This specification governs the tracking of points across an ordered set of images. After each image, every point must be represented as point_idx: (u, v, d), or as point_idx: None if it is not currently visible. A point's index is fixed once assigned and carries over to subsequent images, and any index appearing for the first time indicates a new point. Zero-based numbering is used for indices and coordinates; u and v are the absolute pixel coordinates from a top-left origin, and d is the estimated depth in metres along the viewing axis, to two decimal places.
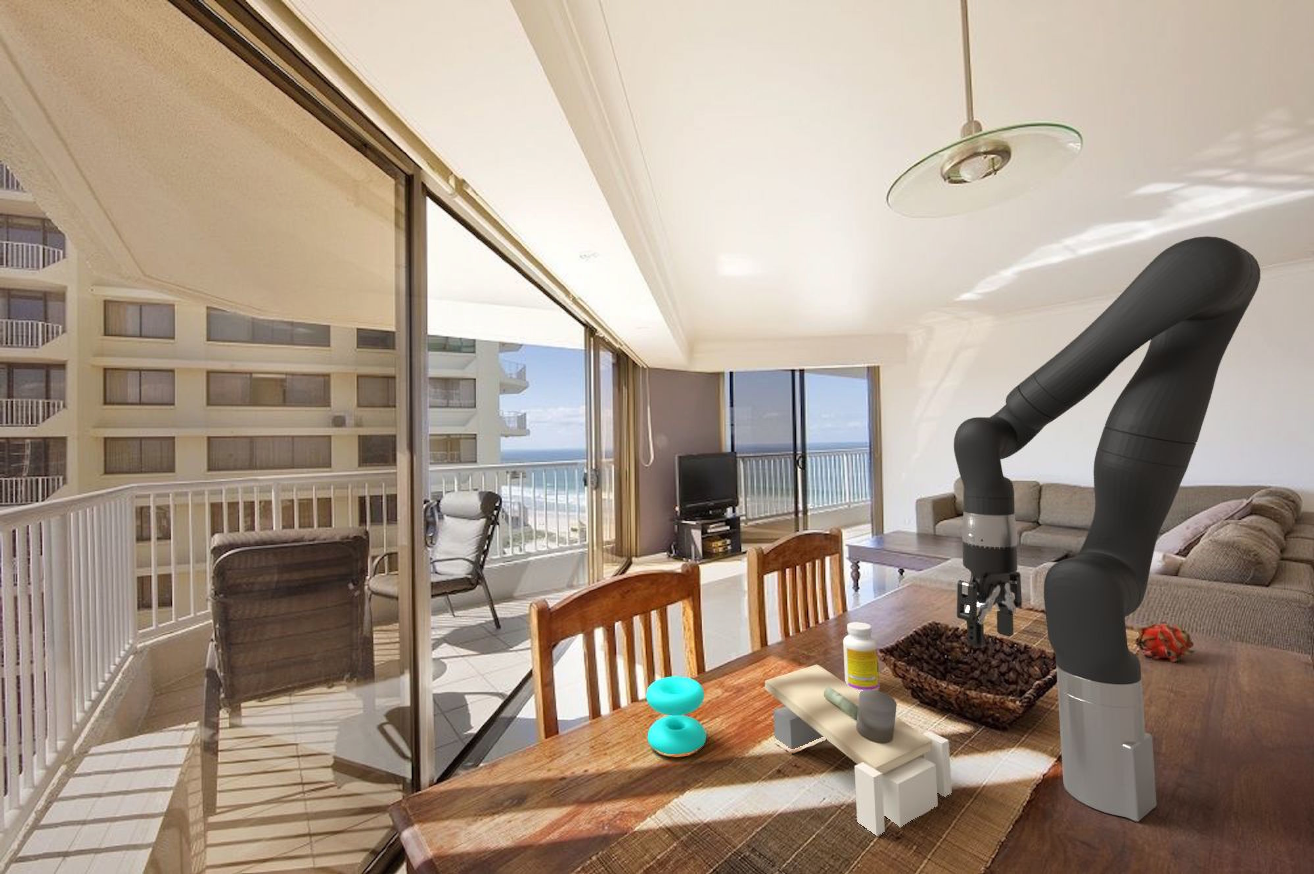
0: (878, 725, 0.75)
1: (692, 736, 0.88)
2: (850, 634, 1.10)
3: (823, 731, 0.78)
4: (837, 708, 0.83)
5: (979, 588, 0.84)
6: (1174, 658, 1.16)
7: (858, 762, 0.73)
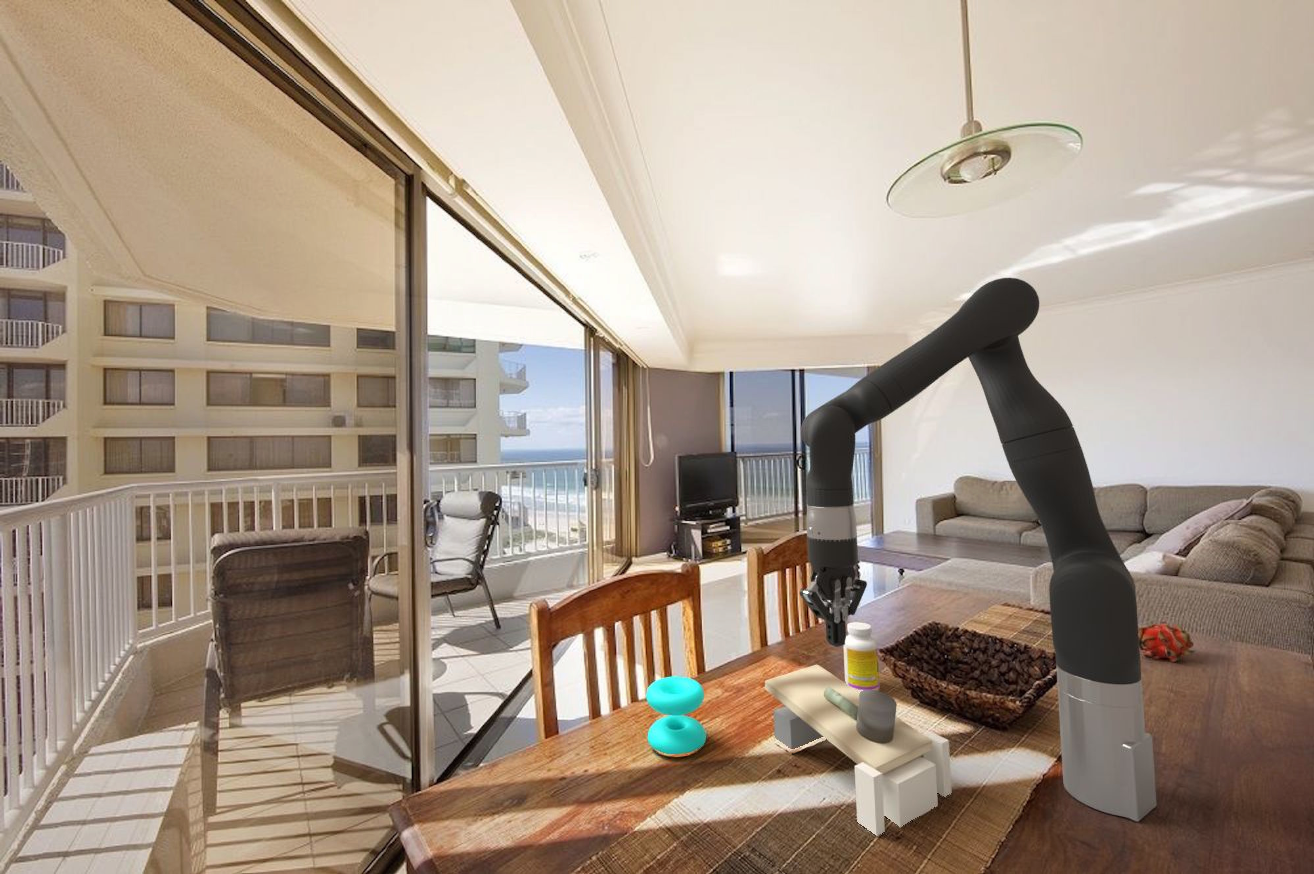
0: (878, 725, 0.75)
1: (692, 736, 0.88)
2: (850, 634, 1.10)
3: (823, 731, 0.78)
4: (837, 708, 0.83)
5: (820, 586, 0.81)
6: (1174, 658, 1.16)
7: (858, 762, 0.73)
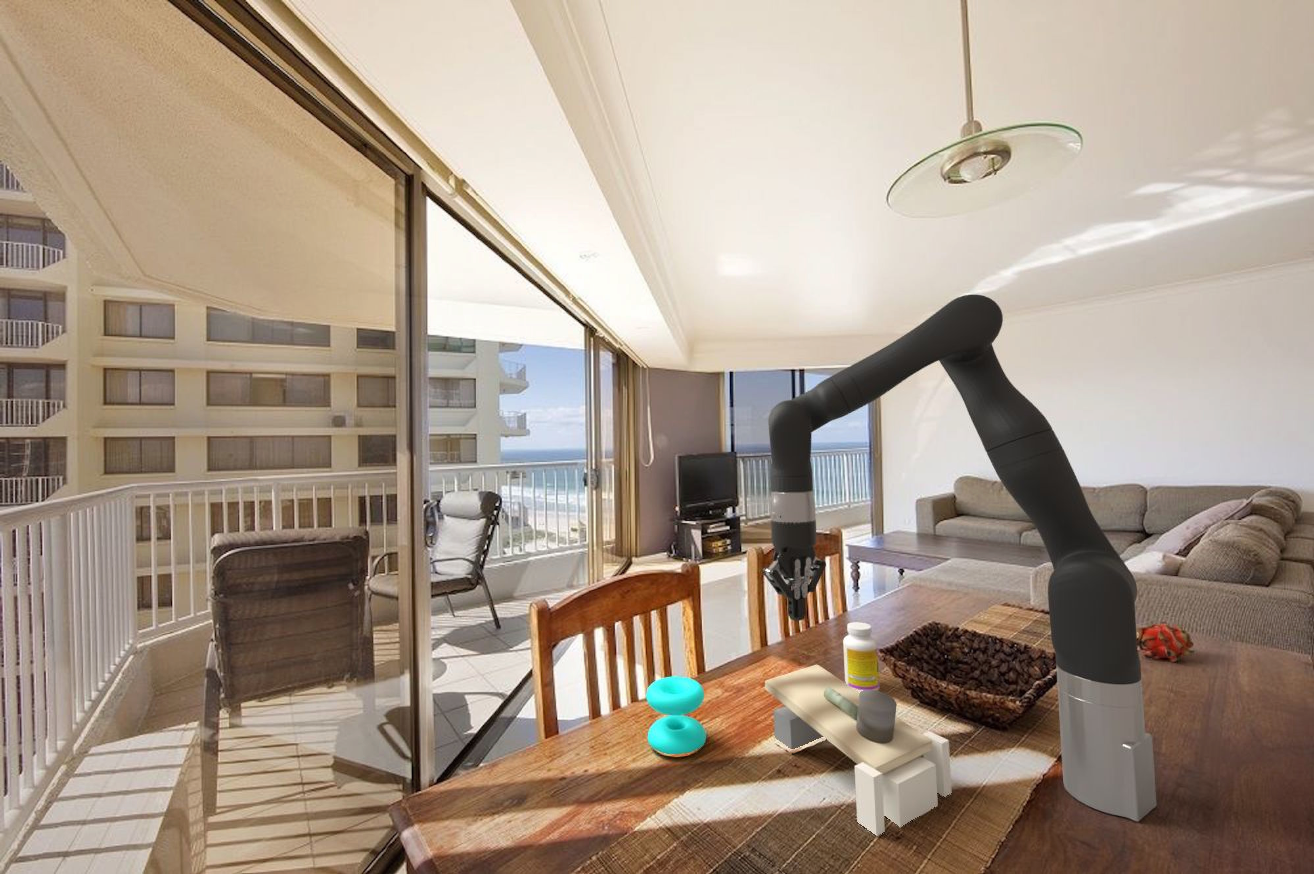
0: (878, 725, 0.75)
1: (692, 736, 0.88)
2: (850, 634, 1.10)
3: (823, 731, 0.78)
4: (837, 708, 0.83)
5: None
6: (1174, 658, 1.16)
7: (858, 762, 0.73)
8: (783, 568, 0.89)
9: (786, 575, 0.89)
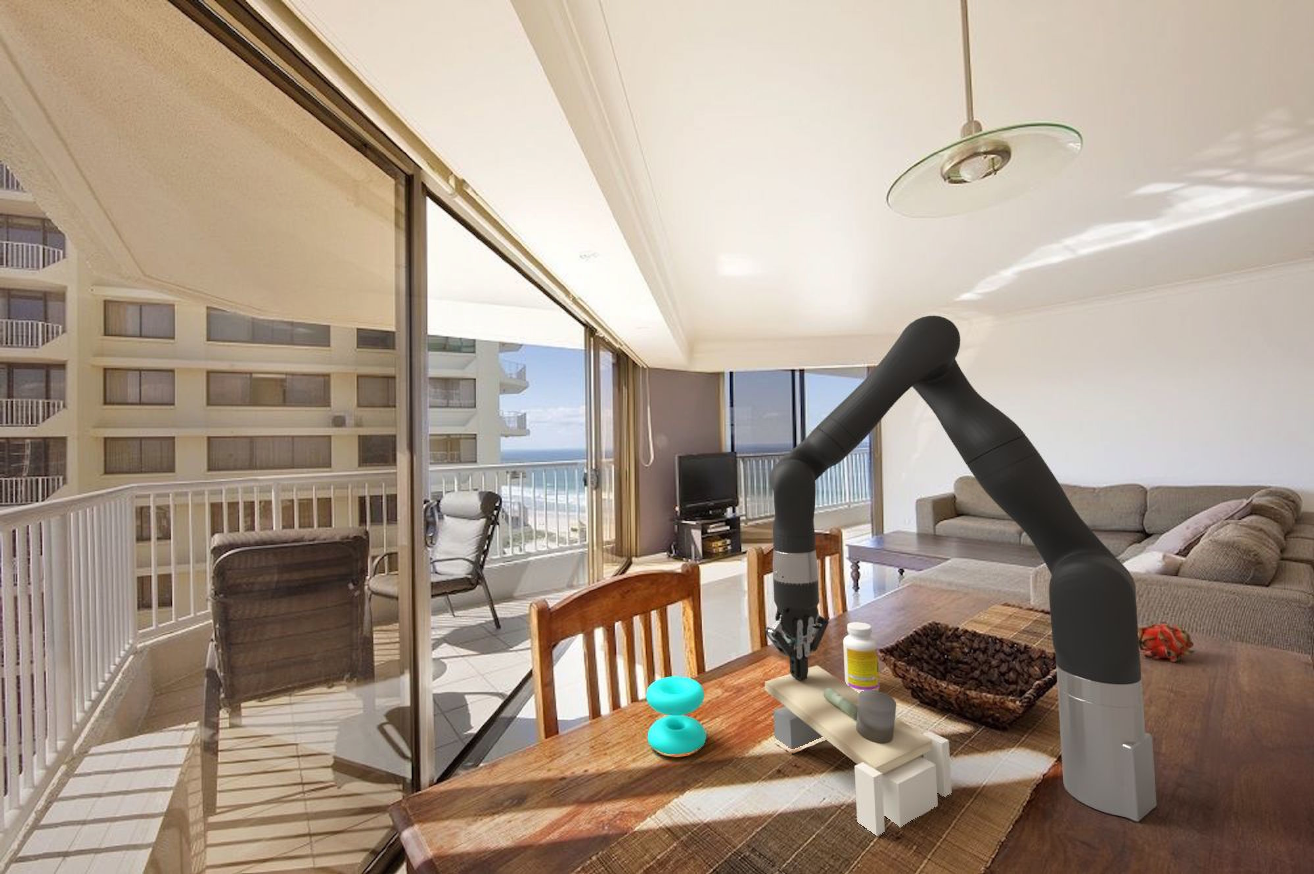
0: (878, 725, 0.75)
1: (692, 736, 0.88)
2: (850, 634, 1.10)
3: (823, 732, 0.78)
4: (837, 709, 0.83)
5: (784, 625, 0.89)
6: (1174, 658, 1.16)
7: (858, 762, 0.73)
8: (785, 628, 0.89)
9: (788, 635, 0.89)
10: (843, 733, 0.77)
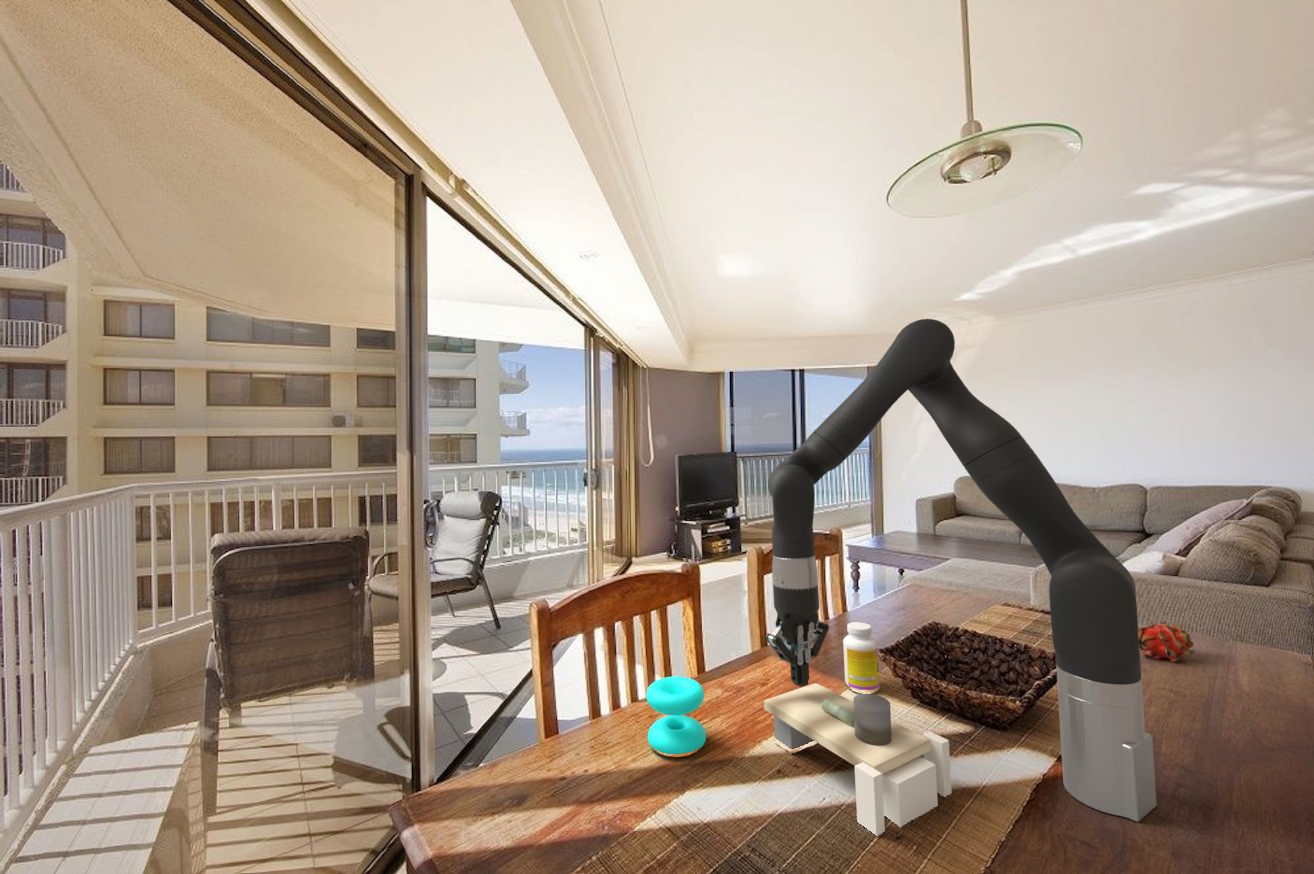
0: (874, 726, 0.75)
1: (692, 736, 0.88)
2: (850, 634, 1.10)
3: (822, 740, 0.78)
4: (836, 719, 0.83)
5: None
6: (1174, 658, 1.16)
7: None
8: (786, 634, 0.88)
9: (789, 641, 0.89)
10: (842, 739, 0.77)
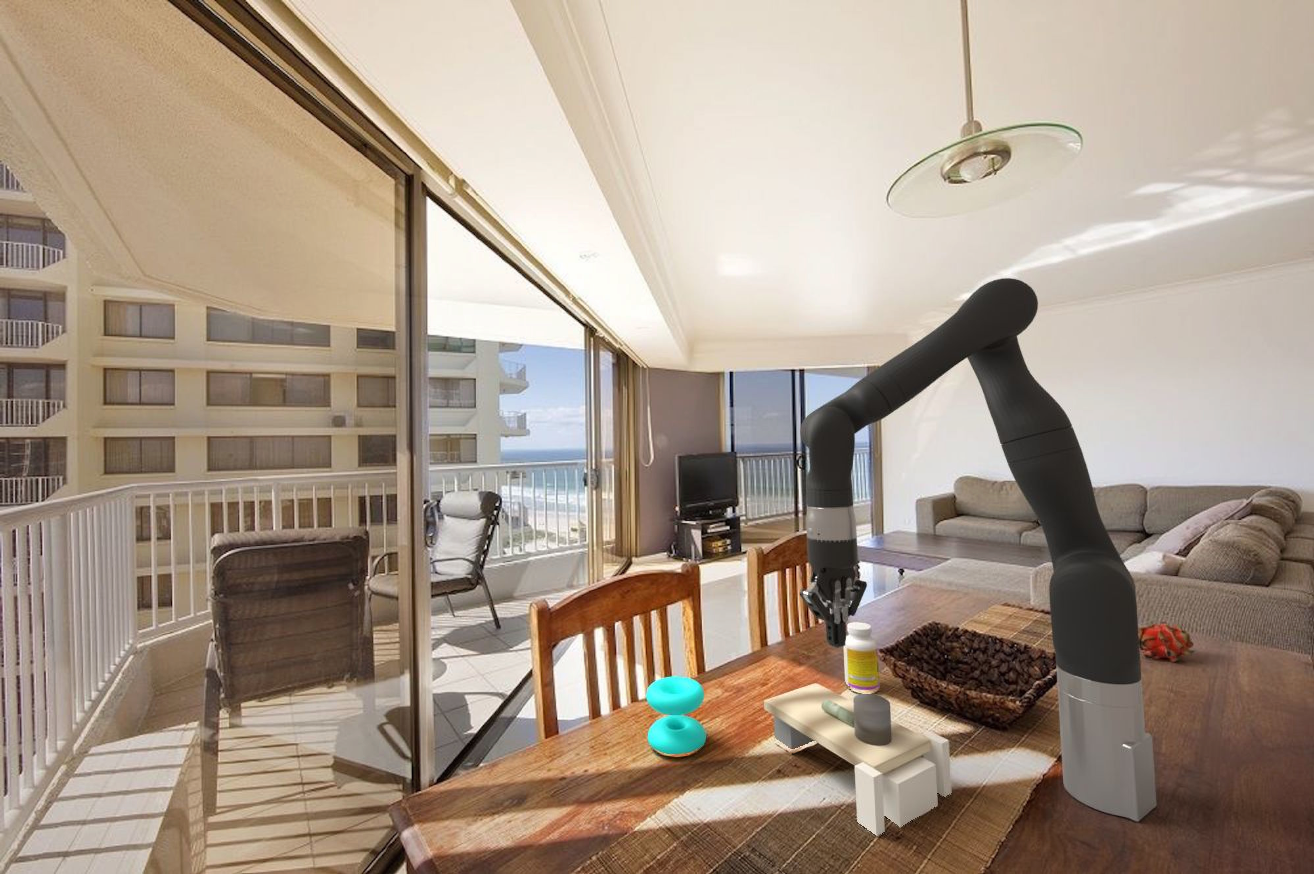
0: (874, 726, 0.75)
1: (692, 736, 0.88)
2: (850, 634, 1.10)
3: (822, 740, 0.78)
4: (836, 719, 0.83)
5: (820, 587, 0.81)
6: (1174, 658, 1.16)
7: None
8: (822, 590, 0.81)
9: (825, 598, 0.82)
10: (842, 739, 0.77)
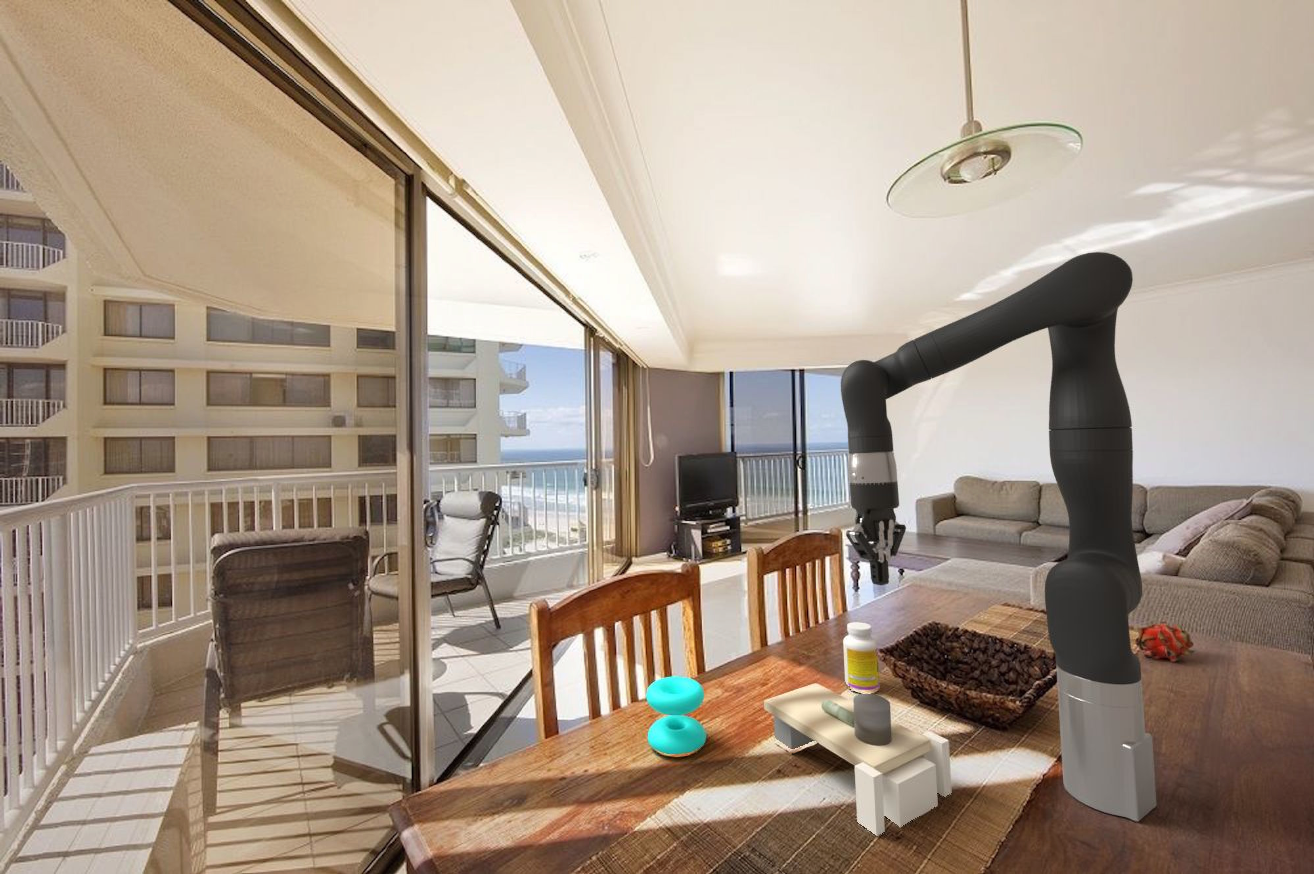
0: (874, 726, 0.75)
1: (692, 736, 0.88)
2: (850, 634, 1.10)
3: (822, 740, 0.78)
4: (836, 719, 0.83)
5: (865, 527, 0.87)
6: (1174, 658, 1.16)
7: None
8: (867, 530, 0.87)
9: (870, 538, 0.87)
10: (842, 739, 0.77)
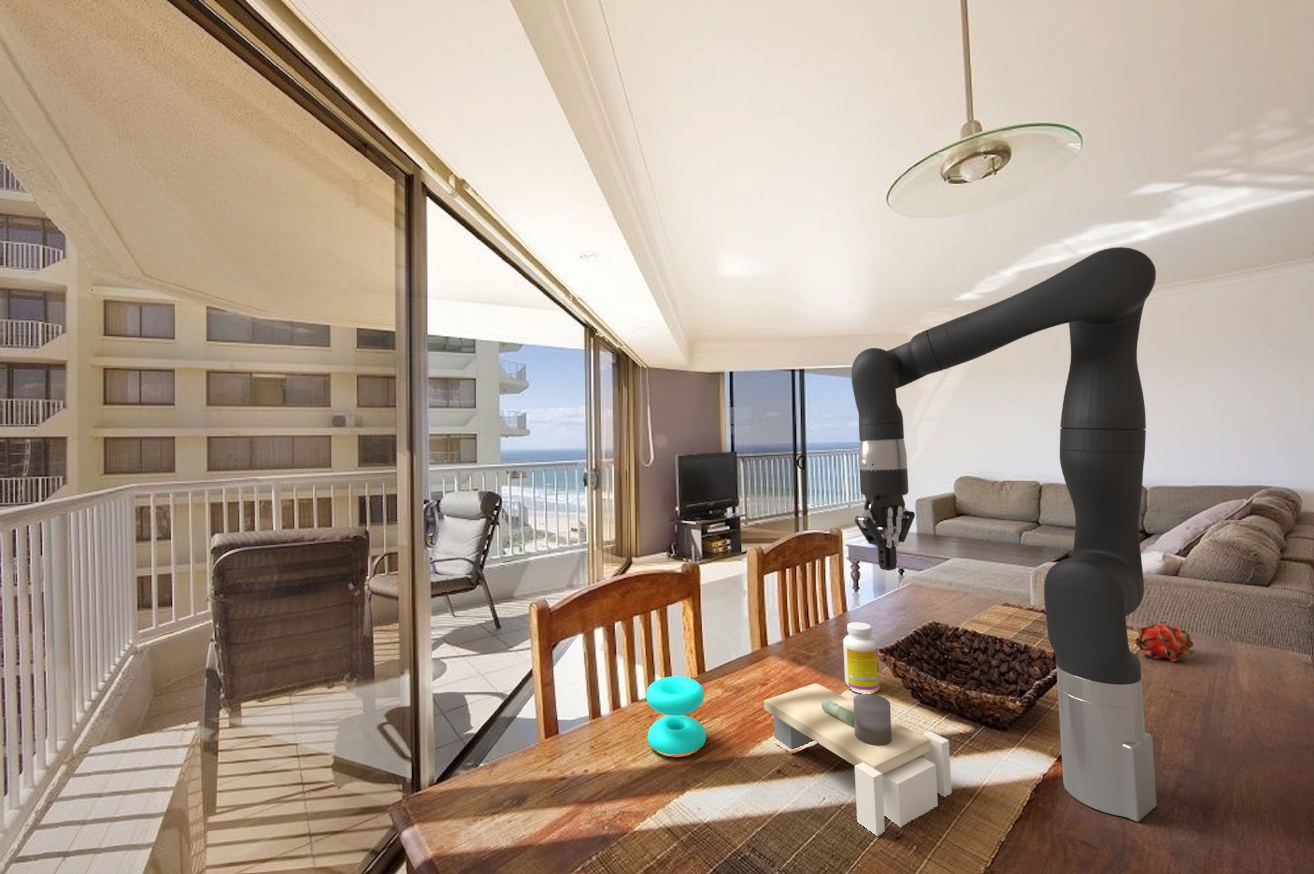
0: (874, 726, 0.75)
1: (692, 736, 0.88)
2: (850, 634, 1.10)
3: (822, 740, 0.78)
4: (836, 719, 0.83)
5: (874, 513, 0.88)
6: (1174, 658, 1.16)
7: None
8: (876, 516, 0.88)
9: (878, 524, 0.89)
10: (842, 739, 0.77)
